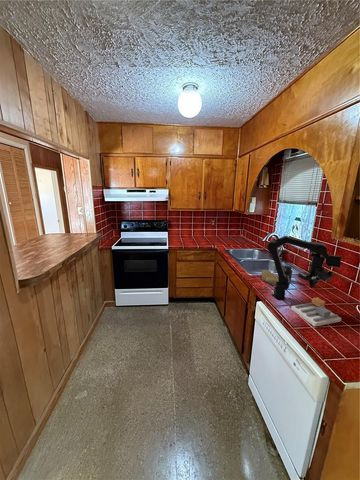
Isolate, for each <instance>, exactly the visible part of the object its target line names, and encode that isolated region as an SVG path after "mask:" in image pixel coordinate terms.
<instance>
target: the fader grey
mask: <svg viewBox="0 0 360 480" xmlns="http://www.w3.org/2000/svg"><path fill="white" fill-rule="evenodd" d="M324 307H325V306H324ZM324 307H322V306H321V307H316V312H317V313H318V314H319V315H320V316H321V317H327V316H330V312H332V311H331V310H330V309H327V308H326V307H325V308H324ZM329 310H330V311H329Z"/></svg>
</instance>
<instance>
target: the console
mask: <svg viewBox="0 0 360 480" xmlns="http://www.w3.org/2000/svg"><path fill="white" fill-rule="evenodd" d="M323 307H324V308H326V307H325V306H323ZM290 308H291V310H292V311H293V312H294V313H296V314H297V315H298V314H299V315H298V316H299V317H301V318H302V319H304V320H305V321H306V322H308V323H309V324H310V325H312V326H313V327H314V328H315V327H319V326H325V325H330V324H335V323H340V322H342V317H340V316H339V314H336V313H333V312H332V311H331V309H328V310H329V311H331V312H330V316H327V317H321V316H320V315H319V314H318V313H317V312H316V306H315V304H313V303H312V302H306V303H302V304H301V303H300V304H294V305H291V307H290Z"/></svg>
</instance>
